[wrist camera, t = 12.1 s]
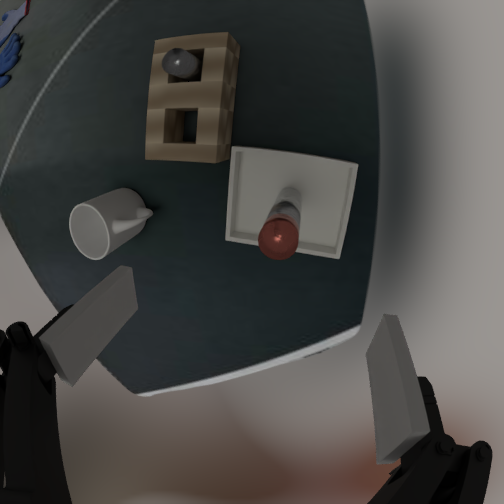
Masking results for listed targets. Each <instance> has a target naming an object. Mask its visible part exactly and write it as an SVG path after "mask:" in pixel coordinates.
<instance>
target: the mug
mask: <svg viewBox="0 0 504 504" xmlns="http://www.w3.org/2000/svg"><path fill="white" fill-rule="evenodd" d="M152 215H153V212H152V210H150V209H147V208H146V207H145V204H144V202H143V200H142V198H141V197H140V196H139V195H138V194H137V193H136V192H135V191H133V190H131V189H128V188H120V189H116V190H114V191H111V192H108V193H106V194H103V195H101V196H98V197H96V198H93V199H91V200H88V201H86V202H83V203H81V204H79V205H77V206H76V207H75V208H74V209H73V211H72V213H71V215H70V220H69V227H70V233H71V236H72V239H73V241H74V243H75V245H76V247H77V248H78V249H79V251H80V252H81V253H82V254H83V255H85V256H86V257H88V258H90V259H93V260H99V259H102V258H103V257H105V256H106V255H108V254H109V253H110V252H112V251H113V250H115V249H116V248H118V247H119V246H121V245H122V244H124V243H125V242H126V241H128V240H129V239H131V238H132V237H134V236H135V235H137V234H138V233H139V232H140V231H141V230H142V229H143V228H144V226H145V223H146V219H148V218H149V217H151V216H152Z"/></svg>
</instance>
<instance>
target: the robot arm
mask: <svg viewBox="0 0 504 504" xmlns="http://www.w3.org/2000/svg"><path fill="white" fill-rule="evenodd" d="M137 309H138V305H137V299H136V293H135V287H134V280H133V273H132V268H131V267H126V266H122V265H121V266H119V267H118V268H117V269H116V270H114V271H113V272H112V273H111V274H110V275H108V276H107V277H106V278H105V279H104V280H102V281H101V282H100V283H99V284H98V285H96V286H95V287H94V288H93V289H92V290H91V291H89V292H88V293H87V294H86V295H85V296H84V297H83V298H81V299H80V300H79V301H78V302H77V303H76V304H75V305H73V304H72V305H70V306H68V307H66V308H64V309H63V310H61V311H60V312H59V313H58V314H57V316H55V317H54V318H53V319H52V321H49V322H48V323H47V324H46V325H45V326H44V327H43V328H42V329H41V330H40V331H39V332H38V333H37V334H36V335H34V336H32V334H31V332H30V329H29V327H28V325H27V324H26V323H25V322H16V323H14V324H12V325H10V326H9V327H8V328H7V330H6V334H5V332H4V331H2V330H0V367H1V369H2V371H3V373H2V375H0V504H72V501H71V498H70V493H69V490H68V485H67V481H66V476H65V471H64V466H63V461H62V455H61V449H60V441H59V433H58V422H57V408H56V382H55V377H54V375H55V374H56V373H57V374H58V375H59V377H60V379H61V380H62V381H63V382H65V383H66V384H68V385H70V386H71V387H73V386H74V384H75V383H76V382H77V380H78V379H79V378H80V377H81V376H82V374H83V373H84V372H85V370H86V369H87V368H88V367H89V366H90V364H91V363H92V362H93V361H94V360H95V358H96V357H97V356H98V355H99V354H100V352H101V351H102V350H103V349H104V348H105V346H106V345H107V344H108V343H109V342H110V340H111V339H112V338H113V337H114V336H115V335H116V333H117V332H118V331H119V330H120V329H121V328H122V326H123V325H124V324H125V323H126V322H127V321H128V320H129V318H130V317H131V316H132V315H133V314H134V313H135V312H136V310H137ZM6 335H7V336H6ZM7 337H8V338H7ZM366 358H367V364H368V372H369V379H370V387H371V395H372V404H373V414H374V425H375V438H376V439H375V440H376V458H377V459H376V460H377V464H389V463H394V462H395V461H397V460H398V459H399V458H401V465H399V466H398V467H397V468H395V469H394V470H393V471H391V472H390V473H389V474H390V475H391V474H392V475H391V477H390V478H389V479H388V480H387V482H386V483H385V484H384V485H383V486H382V488H381V489H380V490H379V491H378V492H377V494H376V495H375V496H374V497H373V498H372V499H371V500H370V501H369V502H368V504H483V502H484V498H485V494H486V489H487V484H488V480H489V474H490V468H491V462H492V449H491V447H490V445H489V444H488V443H487V442H485V441H478V442H476V443H474V444H473V445H472V446H471V447H468V446H462V445H457V444H456V443H455V442H454V439H453V438H452V437H451V436H449V435H447V434H445V433H444V429H443V425H442V421H441V417H440V413H439V409H438V405H437V404H436V403H437V401H436V398H435V397H434V395H435V394H434V391H433V388H432V385H431V383H430V382H429V381H428V379H427V378H426V377H417V375H416V372H415V368H414V365H413V361H412V358H411V355H410V352H409V348H408V345H407V342H406V339H405V336H404V334H403V331H402V328H401V325H400V322H399V319H398V317H397V316H396V315H388V314H384V315H383V317H382V319H381V322H380V324H379V326H378V329H377V331H376V333H375V335H374V338H373V340H372V342H371V344H370V346H369V348H368V350H367V352H366ZM4 472H5V477H6V487H5V488H3V484H4Z"/></svg>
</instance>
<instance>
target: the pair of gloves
mask: <svg viewBox="0 0 504 504" xmlns="http://www.w3.org/2000/svg"><path fill="white" fill-rule="evenodd" d="M30 1H31V0H26V2H25V3H24V4H22V6H21V7H20V8H19V9H18V10H10V11H7V12H6V13H5V14H4V15H3V16H2V21H4V22H3V24H2V25H1V26H0V47H1V46H2V45H3V44H4V42H5V41H6V40H7V38H8V37H9V36H10V34H11V33H12V31H13V29H14V27H15V26H16V25H17V24H18V23H19V21H20V19H21V18H23V17H24V16H25V15H27V14H28V11H29V6H30ZM19 40H20V36H19V35H17V33H13V34H12V35H11V37H10V40H9V42H8V44H7V45H6V47H5V48H4V50H3V51H2V52H1V54H0V88H1V87H2V86H4V85H5V84H7V82H8V81H9V80H10V76H9V75H5V76H2V77H1V75H2V74H4V73H5V72H7V71H9V70H10V69H11V68H12V67H13V66H14V65H15V64H16V63H17V61H18V53H19V51H20V48H21V43H20V42H19Z"/></svg>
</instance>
